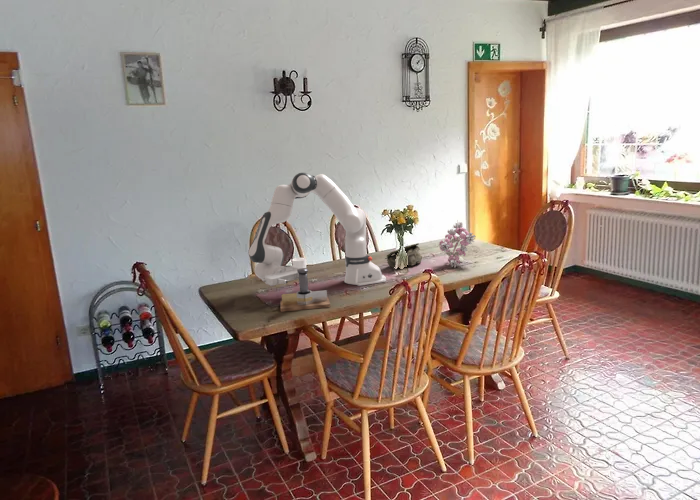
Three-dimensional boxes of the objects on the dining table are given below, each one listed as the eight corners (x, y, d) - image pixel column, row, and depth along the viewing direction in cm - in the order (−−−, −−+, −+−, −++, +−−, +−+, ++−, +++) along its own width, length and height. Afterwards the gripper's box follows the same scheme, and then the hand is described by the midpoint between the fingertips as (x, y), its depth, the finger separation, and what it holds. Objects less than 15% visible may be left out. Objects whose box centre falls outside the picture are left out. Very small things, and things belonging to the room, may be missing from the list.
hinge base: (328, 299, 258) (328, 296, 258) (330, 307, 248) (330, 303, 247) (280, 304, 256) (280, 301, 255) (280, 311, 245) (280, 308, 245)
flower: (423, 260, 315) (433, 226, 300) (449, 250, 328) (460, 216, 313) (447, 280, 304) (459, 245, 289) (473, 268, 316) (485, 235, 301)
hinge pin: (310, 300, 254) (307, 267, 250) (310, 303, 249) (308, 270, 246) (299, 301, 254) (297, 268, 250) (299, 304, 249) (297, 271, 245)
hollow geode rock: (389, 279, 304) (402, 263, 294) (377, 262, 309) (389, 246, 299) (421, 267, 322) (434, 252, 312) (409, 251, 327) (421, 236, 317)
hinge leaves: (326, 297, 256) (325, 288, 255) (328, 303, 249) (327, 292, 248) (282, 302, 254) (281, 292, 253) (282, 307, 246) (281, 297, 245)
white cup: (291, 278, 300) (290, 261, 298) (295, 274, 307) (293, 257, 305) (305, 278, 299) (304, 260, 296) (308, 274, 306) (307, 257, 304)
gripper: (259, 273, 257) (275, 278, 247) (293, 264, 270) (310, 268, 260) (260, 285, 258) (276, 291, 248) (294, 276, 271) (311, 281, 261)
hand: (294, 279), depth 254 cm, fingers open, 8 cm apart
